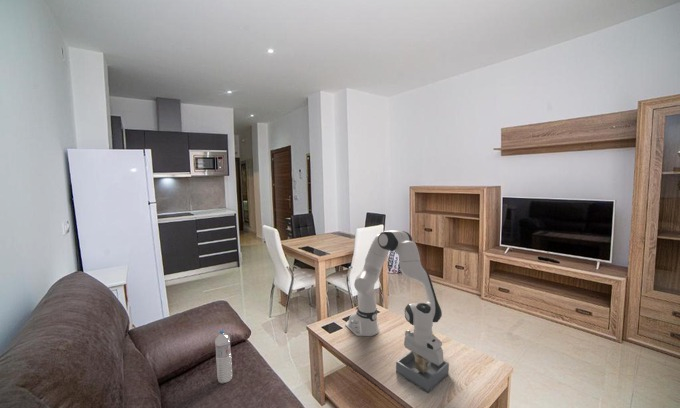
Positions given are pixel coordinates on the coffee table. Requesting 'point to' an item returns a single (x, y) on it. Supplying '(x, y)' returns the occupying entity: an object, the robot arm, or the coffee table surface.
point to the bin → (421, 380)
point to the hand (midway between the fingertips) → (422, 363)
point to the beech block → (421, 363)
